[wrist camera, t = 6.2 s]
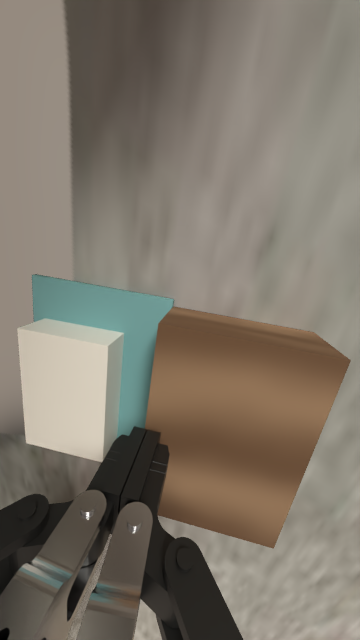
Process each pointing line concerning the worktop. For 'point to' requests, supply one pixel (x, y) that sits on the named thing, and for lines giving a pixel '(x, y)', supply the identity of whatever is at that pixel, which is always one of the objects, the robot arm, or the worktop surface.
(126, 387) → the mat
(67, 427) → the tile
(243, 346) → the board
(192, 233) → the worktop surface
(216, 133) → the worktop surface
